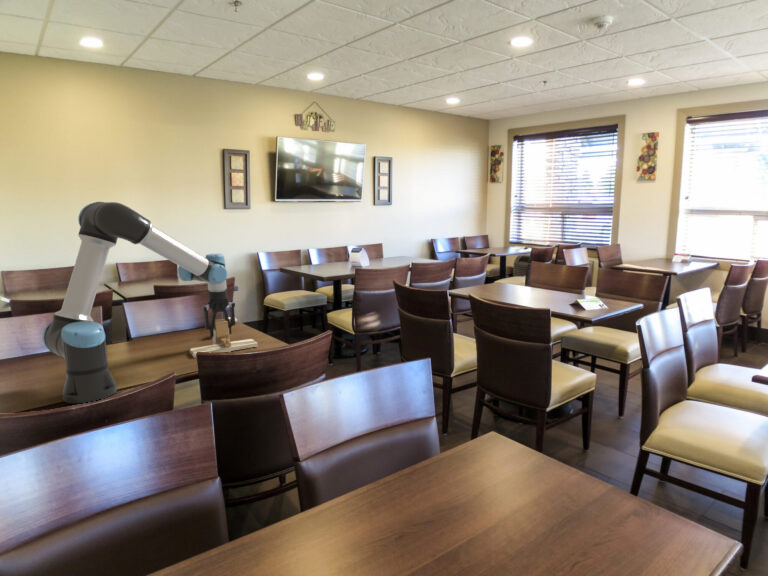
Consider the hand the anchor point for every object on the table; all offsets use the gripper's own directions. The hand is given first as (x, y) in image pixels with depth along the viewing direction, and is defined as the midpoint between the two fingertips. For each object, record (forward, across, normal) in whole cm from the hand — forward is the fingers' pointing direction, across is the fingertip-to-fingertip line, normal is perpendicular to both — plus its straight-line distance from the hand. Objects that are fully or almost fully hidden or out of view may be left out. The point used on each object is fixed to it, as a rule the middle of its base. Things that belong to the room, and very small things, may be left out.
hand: (221, 342), depth 215 cm
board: (+1, +1, +7) cm, 8 cm away
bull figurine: (+2, -6, -17) cm, 18 cm away
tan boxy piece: (+1, 0, +4) cm, 4 cm away
